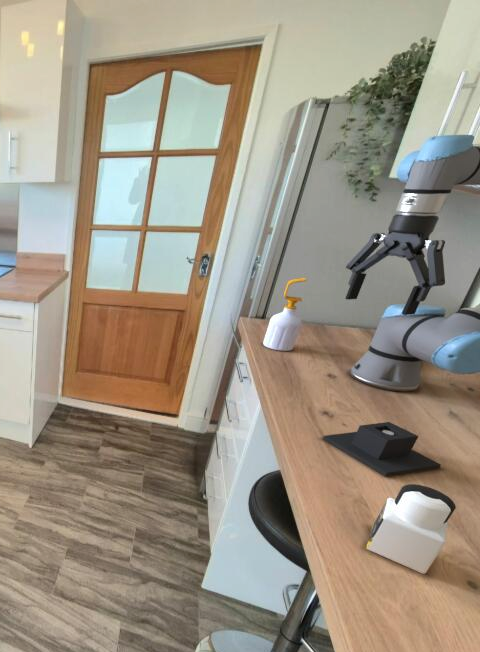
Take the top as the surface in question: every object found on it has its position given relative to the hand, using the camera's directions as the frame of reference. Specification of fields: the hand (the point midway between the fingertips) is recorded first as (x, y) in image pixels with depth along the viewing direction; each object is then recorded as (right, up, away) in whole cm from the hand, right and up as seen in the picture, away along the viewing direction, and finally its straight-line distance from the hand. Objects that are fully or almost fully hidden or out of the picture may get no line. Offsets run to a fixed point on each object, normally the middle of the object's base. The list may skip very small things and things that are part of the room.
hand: (377, 306), depth 106 cm
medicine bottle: (-30, -47, -34) cm, 65 cm away
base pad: (-10, -35, -10) cm, 37 cm away
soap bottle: (+10, -6, +48) cm, 50 cm away
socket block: (-10, -34, -11) cm, 37 cm away
